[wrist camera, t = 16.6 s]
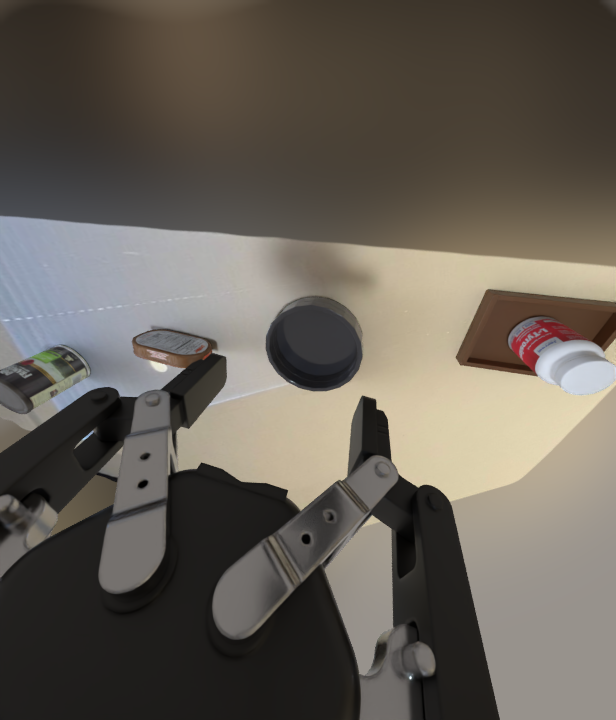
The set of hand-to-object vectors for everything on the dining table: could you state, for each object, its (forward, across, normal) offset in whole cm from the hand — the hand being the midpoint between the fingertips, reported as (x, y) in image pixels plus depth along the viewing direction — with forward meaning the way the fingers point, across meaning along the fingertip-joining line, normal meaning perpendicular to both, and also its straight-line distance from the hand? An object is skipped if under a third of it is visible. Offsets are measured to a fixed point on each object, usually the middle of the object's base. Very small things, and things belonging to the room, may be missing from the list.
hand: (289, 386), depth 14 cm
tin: (+28, +28, +19) cm, 44 cm away
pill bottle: (+28, -30, +2) cm, 41 cm away
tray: (+28, -30, +2) cm, 41 cm away
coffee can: (+28, +63, +37) cm, 78 cm away
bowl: (+28, +1, +12) cm, 31 cm away
